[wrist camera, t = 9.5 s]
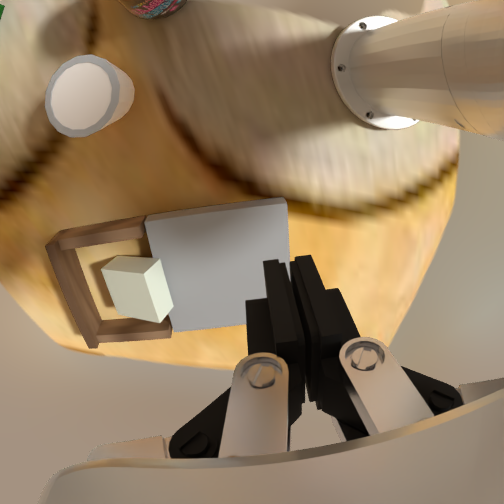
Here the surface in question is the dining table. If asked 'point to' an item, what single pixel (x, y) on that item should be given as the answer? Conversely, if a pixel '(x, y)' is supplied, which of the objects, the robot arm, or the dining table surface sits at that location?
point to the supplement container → (152, 7)
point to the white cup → (87, 96)
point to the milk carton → (1, 10)
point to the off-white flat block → (138, 287)
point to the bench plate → (218, 258)
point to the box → (78, 290)
